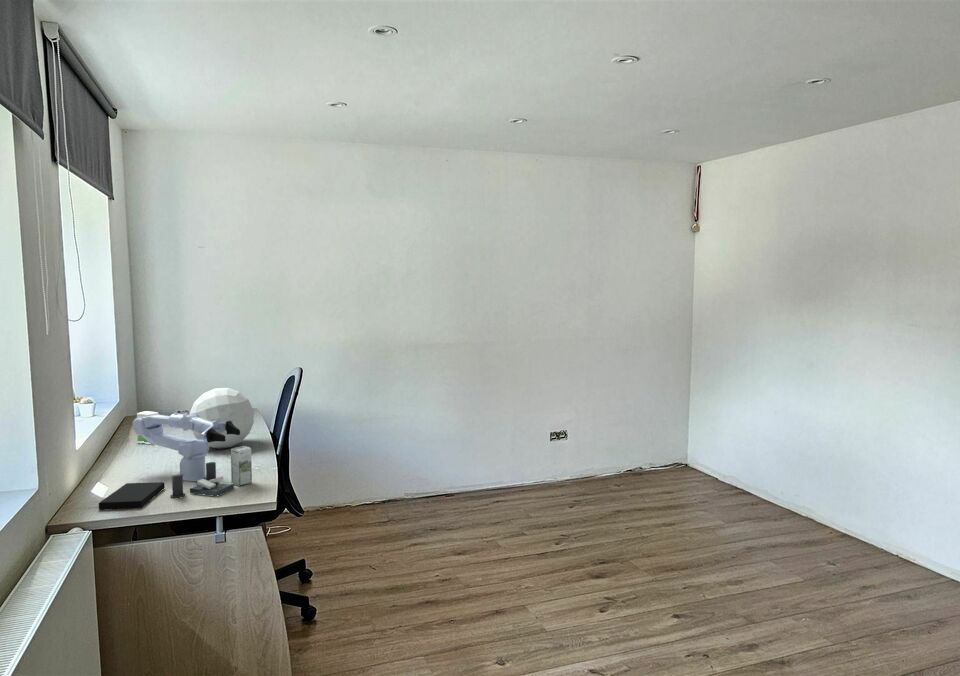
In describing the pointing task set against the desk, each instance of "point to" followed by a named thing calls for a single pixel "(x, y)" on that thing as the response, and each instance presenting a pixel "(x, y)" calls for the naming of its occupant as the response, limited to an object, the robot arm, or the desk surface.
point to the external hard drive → (132, 496)
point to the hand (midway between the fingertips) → (232, 435)
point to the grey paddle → (206, 483)
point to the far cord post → (210, 471)
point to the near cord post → (177, 486)
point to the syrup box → (241, 465)
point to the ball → (225, 413)
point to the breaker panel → (212, 489)
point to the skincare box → (141, 415)
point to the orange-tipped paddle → (216, 479)
